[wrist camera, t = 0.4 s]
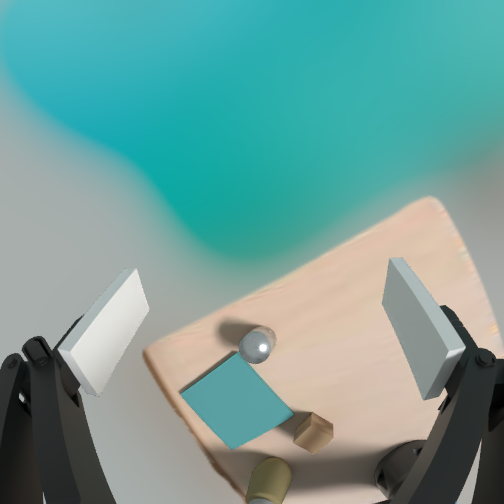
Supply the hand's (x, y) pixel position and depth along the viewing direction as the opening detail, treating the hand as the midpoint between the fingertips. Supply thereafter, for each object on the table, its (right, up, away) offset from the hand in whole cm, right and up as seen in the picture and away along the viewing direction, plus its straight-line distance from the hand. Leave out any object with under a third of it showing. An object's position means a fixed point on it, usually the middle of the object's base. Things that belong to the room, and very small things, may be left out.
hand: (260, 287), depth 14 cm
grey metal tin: (+1, -14, +34) cm, 36 cm away
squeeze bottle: (+4, -43, +31) cm, 53 cm away
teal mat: (-4, -27, +34) cm, 44 cm away
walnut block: (+11, -31, +30) cm, 45 cm away
